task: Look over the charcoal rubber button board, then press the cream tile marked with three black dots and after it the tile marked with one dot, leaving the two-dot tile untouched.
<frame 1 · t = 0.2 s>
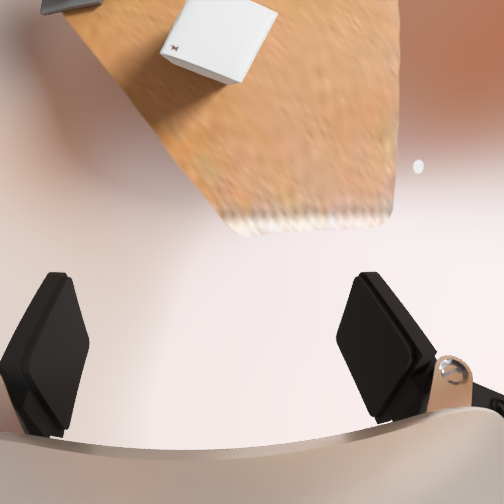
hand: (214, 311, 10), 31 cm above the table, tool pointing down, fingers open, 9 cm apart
supplement box: (213, 48, 31), on the table
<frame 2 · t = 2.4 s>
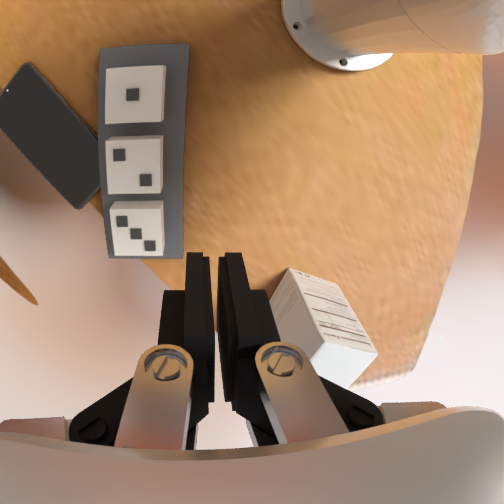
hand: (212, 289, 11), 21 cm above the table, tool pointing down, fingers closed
tile one: (135, 94, 22), point 4 cm above the table, slide at 0.0 cm
smartphone: (52, 133, 26), on the table
tile three: (138, 228, 28), point 4 cm above the table, slide at 0.0 cm
tile two: (134, 164, 25), point 4 cm above the table, slide at 0.0 cm
button board: (142, 154, 28), on the table
supplement box: (299, 296, 40), on the table
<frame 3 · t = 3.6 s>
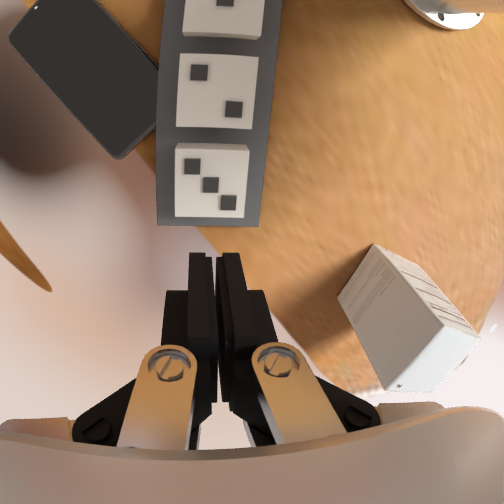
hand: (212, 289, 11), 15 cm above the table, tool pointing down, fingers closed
tile one: (224, 2, 15), point 4 cm above the table, slide at 0.0 cm
smartphone: (90, 61, 19), on the table
tile three: (210, 180, 21), point 4 cm above the table, slide at 0.0 cm
tile two: (216, 90, 18), point 4 cm above the table, slide at 0.0 cm
button board: (214, 88, 21), on the table
supplement box: (377, 278, 33), on the table
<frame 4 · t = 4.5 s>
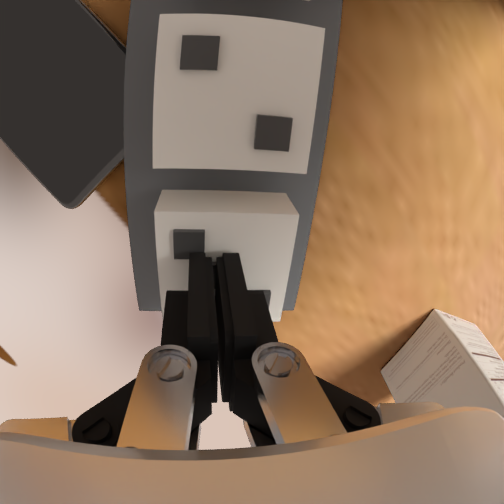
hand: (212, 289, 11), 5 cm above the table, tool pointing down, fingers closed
smartphone: (27, 50, 10), on the table
tile three: (223, 260, 12), point 4 cm above the table, slide at 0.1 cm, touching gripper
tile two: (234, 91, 9), point 4 cm above the table, slide at 0.0 cm
button board: (227, 87, 12), on the table
supplement box: (429, 344, 24), on the table
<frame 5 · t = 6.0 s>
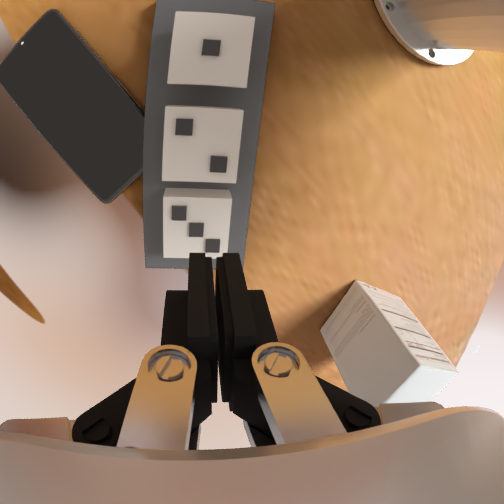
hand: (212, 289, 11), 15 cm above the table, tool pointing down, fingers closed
tile one: (210, 49, 16), point 4 cm above the table, slide at 0.0 cm
smartphone: (77, 102, 20), on the table
tile three: (196, 223, 23), point 3 cm above the table, slide at 1.1 cm
tile two: (201, 142, 19), point 4 cm above the table, slide at 0.0 cm
button board: (200, 134, 22), on the table
supplement box: (359, 311, 34), on the table
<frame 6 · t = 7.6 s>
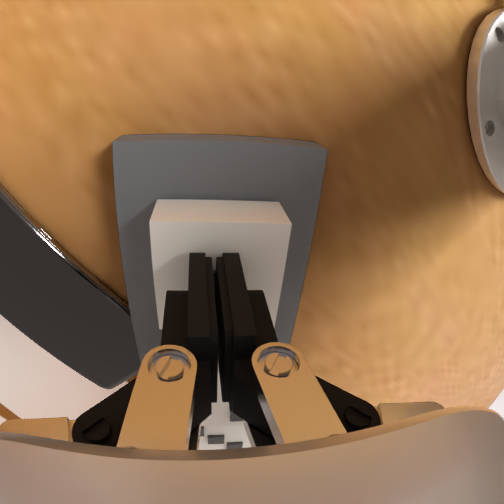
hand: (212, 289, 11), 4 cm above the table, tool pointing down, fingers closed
tile one: (217, 268, 12), point 3 cm above the table, slide at 1.0 cm, touching gripper
smartphone: (41, 283, 15), on the table
tile three: (214, 426, 18), point 3 cm above the table, slide at 1.1 cm
tile two: (216, 386, 14), point 4 cm above the table, slide at 0.0 cm
button board: (212, 332, 17), on the table
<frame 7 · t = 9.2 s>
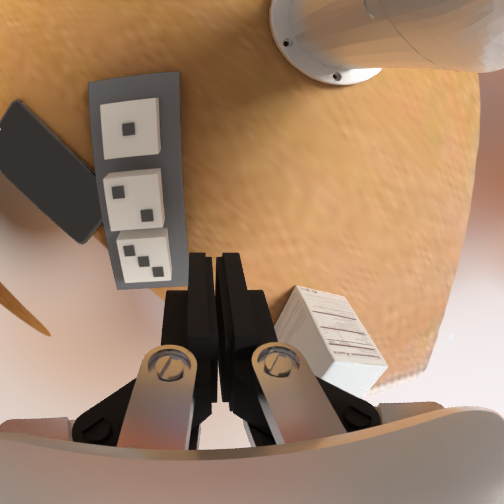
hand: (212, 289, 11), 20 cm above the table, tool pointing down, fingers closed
tile one: (130, 127, 23), point 3 cm above the table, slide at 1.1 cm
smartphone: (49, 170, 26), on the table
tile three: (145, 256, 29), point 3 cm above the table, slide at 1.1 cm
tile two: (134, 199, 25), point 4 cm above the table, slide at 0.0 cm
button board: (141, 186, 29), on the table
supplement box: (308, 311, 40), on the table
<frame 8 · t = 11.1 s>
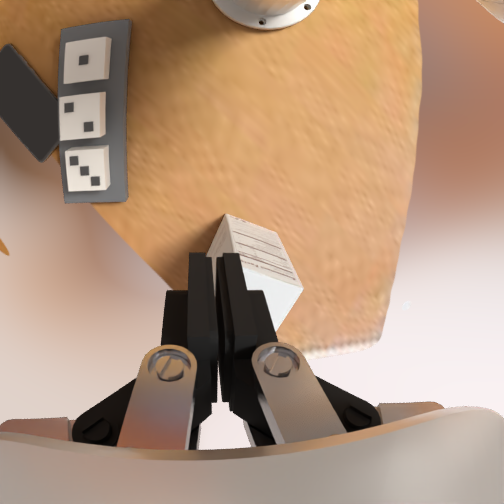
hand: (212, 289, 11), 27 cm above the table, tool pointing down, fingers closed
tile one: (86, 60, 25), point 3 cm above the table, slide at 1.1 cm
smartphone: (25, 100, 28), on the table
tile three: (87, 168, 31), point 3 cm above the table, slide at 1.1 cm
tile two: (82, 115, 27), point 4 cm above the table, slide at 0.0 cm
button board: (93, 112, 30), on the table
supplement box: (240, 244, 42), on the table
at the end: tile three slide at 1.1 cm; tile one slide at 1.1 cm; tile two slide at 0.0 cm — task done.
